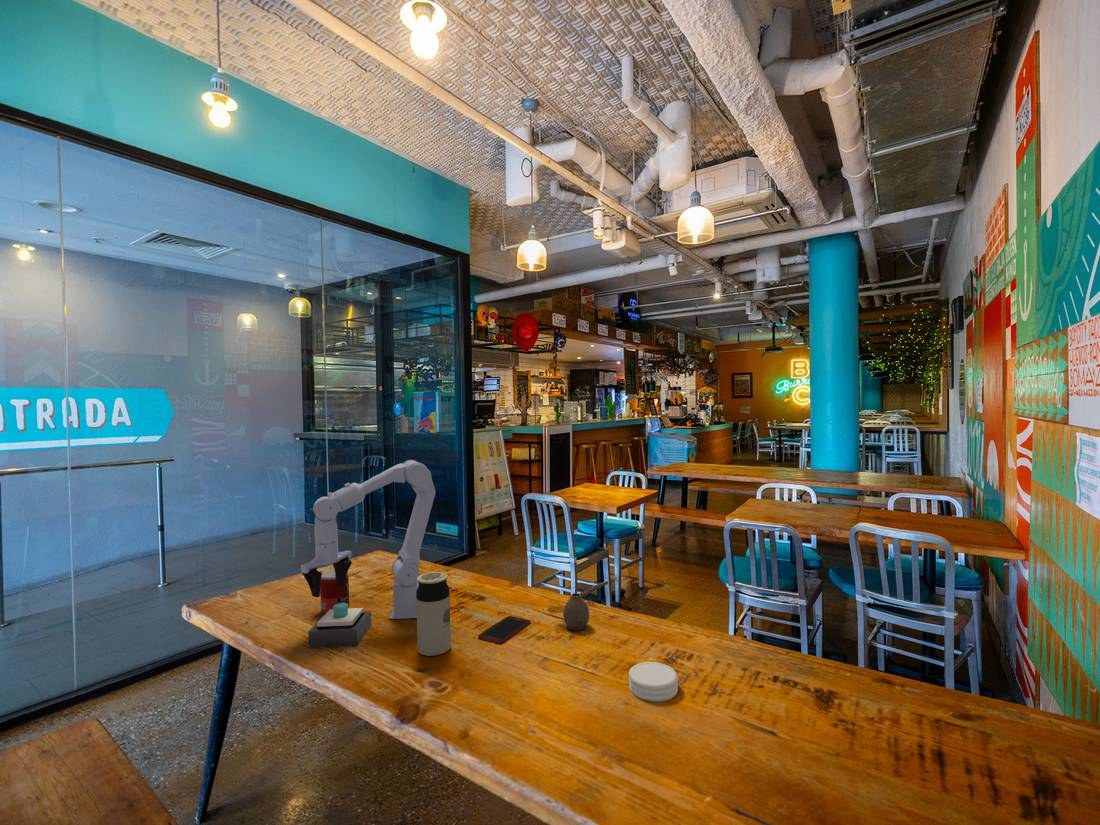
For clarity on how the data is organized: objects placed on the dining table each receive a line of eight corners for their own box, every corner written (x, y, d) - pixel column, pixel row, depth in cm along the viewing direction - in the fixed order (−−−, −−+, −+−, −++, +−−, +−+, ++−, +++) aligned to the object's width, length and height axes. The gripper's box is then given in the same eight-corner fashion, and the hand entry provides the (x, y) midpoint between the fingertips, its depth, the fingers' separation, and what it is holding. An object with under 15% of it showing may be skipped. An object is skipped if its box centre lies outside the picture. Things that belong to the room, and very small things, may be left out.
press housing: (371, 625, 143) (370, 610, 143) (357, 645, 131) (356, 629, 131) (326, 627, 142) (326, 612, 142) (308, 647, 130) (308, 631, 130)
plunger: (363, 611, 141) (362, 598, 141) (352, 625, 132) (351, 611, 132) (330, 612, 141) (329, 600, 141) (317, 626, 132) (316, 612, 132)
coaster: (641, 706, 102) (641, 689, 102) (621, 681, 112) (621, 664, 112) (687, 698, 105) (686, 680, 105) (663, 673, 114) (663, 657, 114)
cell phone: (476, 640, 133) (476, 636, 133) (508, 618, 146) (508, 615, 146) (501, 646, 129) (501, 642, 129) (532, 623, 142) (532, 620, 142)
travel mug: (410, 652, 126) (408, 579, 126) (432, 639, 133) (430, 569, 133) (436, 659, 123) (434, 583, 122) (457, 645, 130) (455, 573, 129)
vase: (589, 622, 142) (589, 590, 142) (589, 633, 135) (588, 599, 135) (564, 621, 142) (563, 589, 142) (562, 632, 136) (561, 599, 135)
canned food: (343, 615, 150) (341, 577, 150) (316, 615, 151) (314, 577, 150) (353, 604, 158) (352, 568, 158) (327, 605, 158) (326, 569, 158)
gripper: (338, 534, 149) (340, 581, 149) (292, 547, 136) (294, 598, 136) (356, 536, 146) (357, 584, 146) (310, 550, 133) (312, 602, 133)
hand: (328, 591), depth 141 cm, fingers open, 7 cm apart
